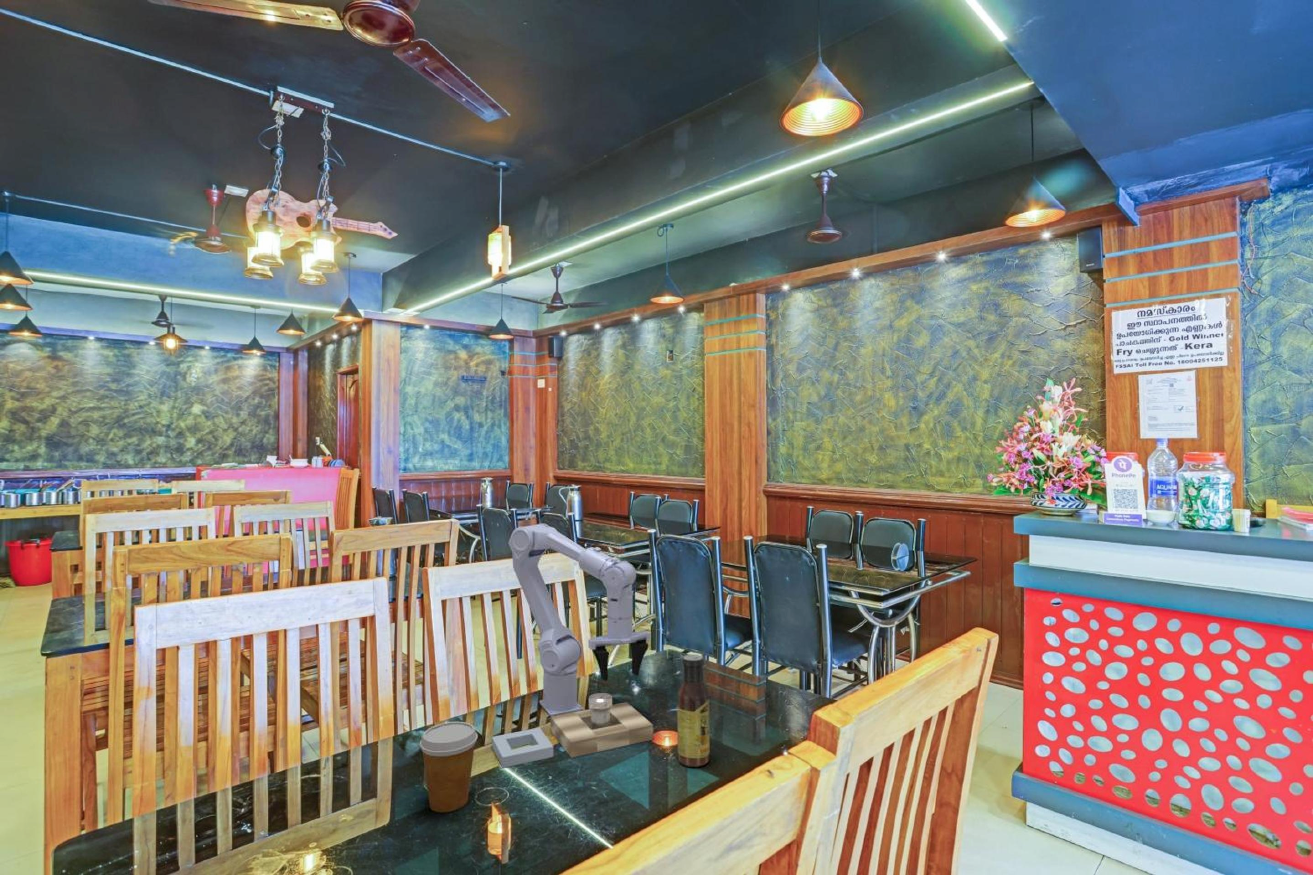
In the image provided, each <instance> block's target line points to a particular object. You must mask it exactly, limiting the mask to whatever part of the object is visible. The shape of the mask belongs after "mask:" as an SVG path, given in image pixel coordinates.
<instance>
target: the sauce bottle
mask: <svg viewBox="0 0 1313 875" xmlns="http://www.w3.org/2000/svg"><path fill="white" fill-rule="evenodd" d="M682 665H683V676H682V678H683V682H682V683H681V685H680V686H679V688H678V690H677V706H676V708H677V754H678V755H677V757H678V761H679V763H681V764H682V765H683V766H686V767H693V768H697V767H701V766H705V765H707V763H708V762H709V761H710V752H711V750H710V743H711V742H710V739H711V738H710V696H709V694H708V691H707V688H706V685H705V683H704V677H703V666H704V657H703V656H701V655H699V654H687V655H684V656H683V657H682Z"/></svg>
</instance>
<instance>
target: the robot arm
mask: <svg viewBox="0 0 1313 875" xmlns="http://www.w3.org/2000/svg"><path fill="white" fill-rule="evenodd" d="M508 546H509V549H510V551H511V553H512V568H513V571H514V573H515V575H516V578H517V580H518V582H519V585H520V587H521V589H522V593H523V595H524V598H525V599H526V602H527V604H528V607H529V609H530V611H531V614H532V617H533V619H534V621H535V623H536V626H537V628H538V631H539V634H540V638H539V640H538V641H539V642H538V644H537V649H538V650H539V656H540V657H539V661H540V665H541V667H542V668H543V670H544V672H543V676H542V677H543V678H542V679H543V680H542V685H543V689H542V690H543V691H542V692H543V697H542V698H543V699H540V700H539V704H540V705H541V706H542V708H543V709H544V710H545V711H546V713H547V715H549V716H550V717H552V716H557V715H562V714H567V713H573V712H578V711H583V710H584V707H583V706H582V705H581V704H580V703H578V662H579V661H580V660H581V658H582V657H583V646H582V643H581V642H580V641H579V640H578V638H577V637H576V636H575V635H574V633H573V631H572V629H570V628H568V627H567V626H565V625H563V623H562V621H561V617H560V615H559V613H558V610H557V608H556V606H555V604H554V601H553V599H552V597H551V594H550V592H549V589H548V587H547V585H546V583H545V580H544V578H543V575H542V574H541V571H540V568H539V567H538V566H539V562H540V561H541V558H542V557H543V555H544V553H546V551H547V550H549V549H551V550H553V551H555V552H557V553H559V554H561V555H564V556H566V557H567V558H569V559H572V560H573V561H576V562H577V563H578V566H579V570H581V571H584V572H585V573H587V574H589V575H591V576H592V577H594V578H596V579H598V580H600V581H602V584H603V587H605V590H606V597H607V598H606V601H607V602H606V612H607V614H606V615H607V616H606V617H607V618H606V619H607V621H606V622H607V625H606V626H607V628H606V630H607V634H604V635H600V636H597V637H596V636H595V637H592V638H588V642H587V643H588V649H590V650H591V651H592V653H593V655H594V657H595V659H596V661H597V662H596V663H597V665H598V668H599V673H600V677H601V680H603V681H604V682H606V681H608V680H609V679H608V678H609V669H608V666H609V664H608V663H609V656H610V651H608V650H607V648H606V647H613V646H620V645H625V644H630V650H631V652H630V653H631V672H632V674H634V676H639V674H640V669H641V665H642V662H643V659H644V656H645V654H646V653H647V651H648V649H649V643H647V642H651V632H649V631H648V630H642V631H633V584H634V583H635V581H636V578H637V571H636V569H635V567H634V565H633V564H631V563H630V562H629V561H627V560H622V561H619V560H618V558H617V557H615V556H614V557H612V556H610V555H608V554H606V553H604V552H602V548H600V547H598V546H596V547H592V546H591V547H588V548H584V547H583V546H581V545H580V544H578V543H577V542H575V541H573V540H571V539H570V538H569V537H567V536H565V535H564V534H562V533H560V532H559V531H557V529H556V528H555V527H552V526H549V525H548V524H546V523H538V524H532V525H526V526H518V527H516V528H515V529H514V530H513V531H512V533H511V535H510V538H509V540H508Z"/></svg>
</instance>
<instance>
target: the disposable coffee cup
mask: <svg viewBox="0 0 1313 875" xmlns="http://www.w3.org/2000/svg"><path fill="white" fill-rule="evenodd" d="M478 737H479V736H478V733H477V732H476V727H475V726H474V725H473V724H471V723H469V722H465V721H448V722H443V723H439V724H436V725H433V726H430V728H427V729H426V730H425V731H424V732H423V735H422V736H421V739H420V742H419V747H420V749H421V751H422V757H423V763H424V769H425V771H424V772H425V779H426V785H427V786H426V787H427V795H428V796H427V797H428V804H429V808H430V810H432V811H434V812H436V813H449V812H453V811H456V810H459V809H461V808H463V807H464V806H465V805H467V803H468V801H469V793H470V787H471V786H470V785H471V777H472V768H473V761H474V754H475V744H476V743H477V740H478Z"/></svg>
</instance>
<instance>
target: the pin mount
mask: <svg viewBox="0 0 1313 875" xmlns="http://www.w3.org/2000/svg"><path fill="white" fill-rule="evenodd" d="M527 745H529V746H527ZM521 746H522V747H521ZM517 747H520V748H517ZM491 748H492V750H493V751H494V754H495V756H496V758H497V759H498V762H499V763H500V766H501V768H502V769H505V768H508V767H514V766H519V765H522V764H528V763H531V762H536V761H540V760H545V759H551V758H554V745H553V743H552V742H550V740H549V738H548V737H547V736H546V734H545V733H544V731H543V730H542V729H541V727H535V728H531V729H530V728H529V729H525V730H520V731H516V732H511V733H506V734H500V735H494V736H492V737H491ZM512 748H515V749H512Z"/></svg>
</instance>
